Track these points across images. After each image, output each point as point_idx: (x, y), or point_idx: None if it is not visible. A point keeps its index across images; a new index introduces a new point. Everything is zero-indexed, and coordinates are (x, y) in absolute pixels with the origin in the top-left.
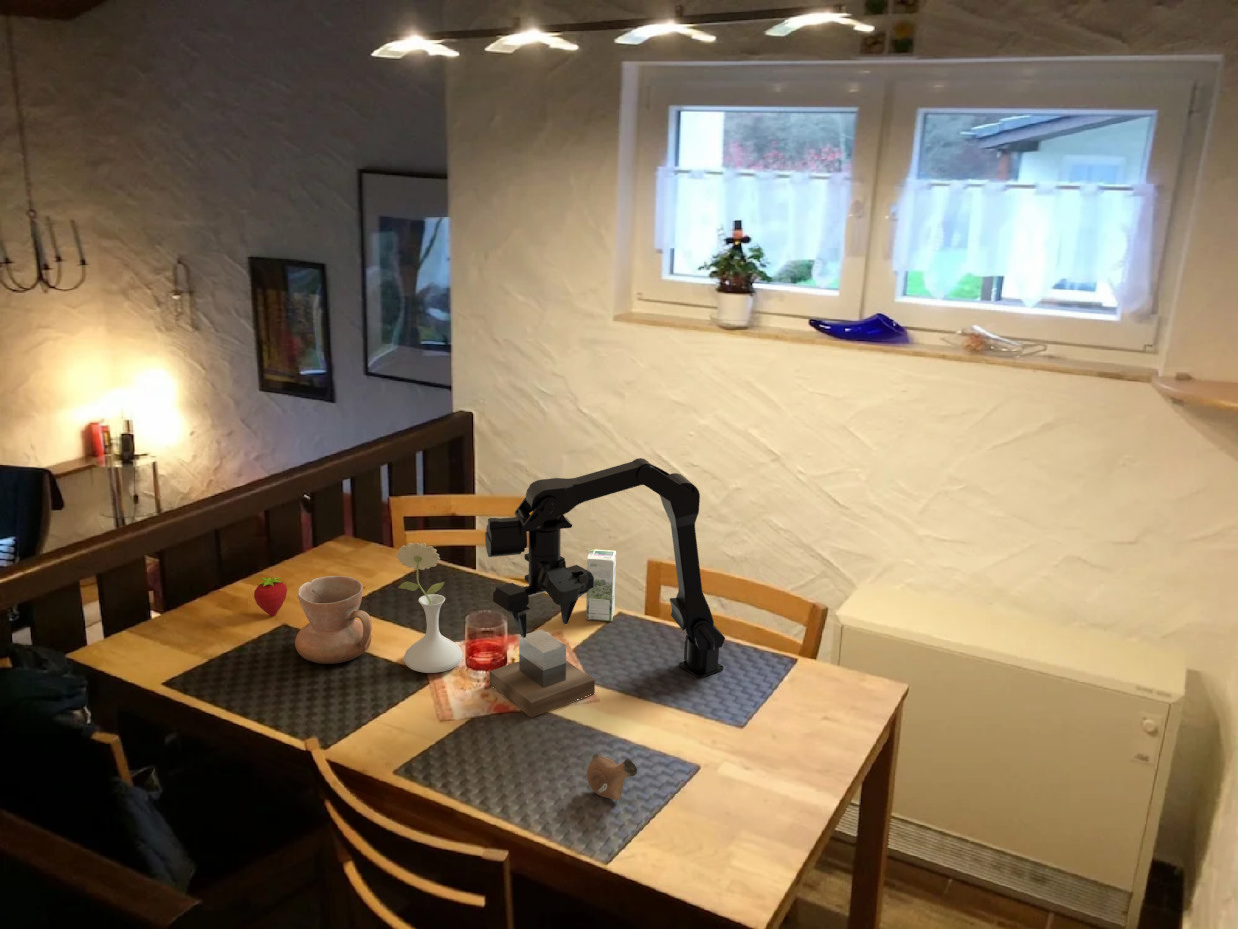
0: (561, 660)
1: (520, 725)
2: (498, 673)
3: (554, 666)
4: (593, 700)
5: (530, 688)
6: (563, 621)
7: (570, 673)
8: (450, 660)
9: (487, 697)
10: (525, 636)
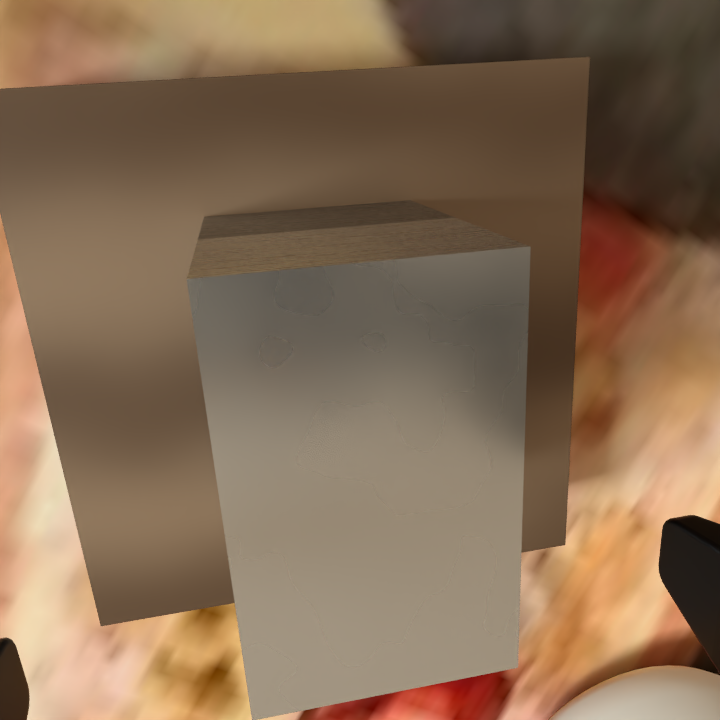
0: (254, 241)
1: (630, 25)
2: (541, 501)
3: (334, 227)
4: (59, 24)
5: None
6: (18, 705)
7: (122, 289)
8: (644, 714)
9: (597, 397)
10: (687, 522)
